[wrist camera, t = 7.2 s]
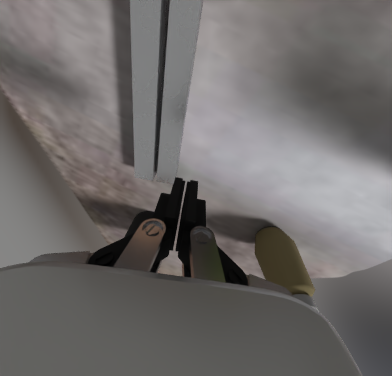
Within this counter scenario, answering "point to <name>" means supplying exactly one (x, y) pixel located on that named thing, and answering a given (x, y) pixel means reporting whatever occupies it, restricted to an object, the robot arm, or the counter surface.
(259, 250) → the squeeze bottle
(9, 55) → the counter surface
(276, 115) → the counter surface
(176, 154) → the arm
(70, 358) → the robot arm
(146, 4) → the base
